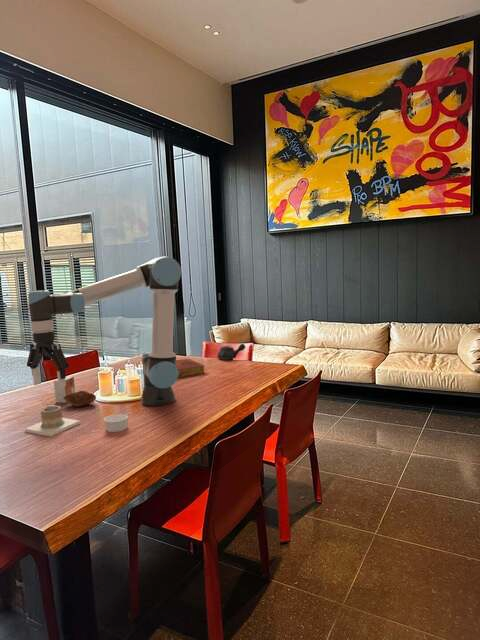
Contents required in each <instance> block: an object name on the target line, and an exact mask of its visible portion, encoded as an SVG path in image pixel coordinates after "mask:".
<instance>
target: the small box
mask: <svg viewBox="0 0 480 640" xmlns="http://www.w3.org/2000/svg"><path fill="white" fill-rule="evenodd" d="M65 381H66V386H64V387H62V388H59V384H58V379H55V380H53V387H54V397H55V403H62V404H64V403H65V404H67V402H66V401H65V400H64V399H63V398H64V397H65V396H66V395H69V394H73V393H76V388H75V387H76V385H75V377H74V376H66V378H65Z"/></svg>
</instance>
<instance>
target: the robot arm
mask: <svg viewBox="0 0 480 640" xmlns="http://www.w3.org/2000/svg"><path fill="white" fill-rule="evenodd" d="M181 275H182V268H181V265H180V264H179V263H178V261H177V260H176V259H174V258H173V257H170V256H167V255H166V256H159V257H154V259H151V260H149V261H148V262H146V263H143V264H141V265H138V266H136V268H135V269H133V270H131V271H128V272H124V273H121V274H118V275H115V276H112V277H109V278H107V279H104V280H100V281H98V282H94V283H91V284H89V285H85V286H82V287H79V288H78V289H77V288H76V289H74V290H70V291H66V292H63V293H62V294H51V293H50V291H49V290H45V289H44V290H33V291H30V292H28V295H27V299H28V308H29V309H28V310H29V316H30V324H31V331H32V332H33V333H32V340H33V343H30V344H29V348H30V349H29V354H28V357H27V358H28V359H27V363H26V366H27V367H29V368H30V369H31V373H32V374H31V375H32V378H33V379H32V380H33V386H38V385H41V384H42V379H41V378H42V377H41V369H40V367H39V364H40V363H41V360H42V359H43V357H44V356H45V357H48V358H49V359H50V360H51V361H52V363H53V365H54V366H55V367H56V369H57V371H56V374H57V380H58V384H59V388H62V387H64V386H66V381H65V378H66V377H67V375H66V369H69V368H70V365H69V363H68V360H67V359H66V356H65V354H64V353H63V350H62V347H61V344H60V343H56V344H55V343H54V341H55V340H56V335H55V330H54V322H53V321H54V320H53V316H55V315H65V314H77V313H83V312H85V310H86V308H85V307H86V306H88V305H90V304H93V303H97V302H99V301H102V300H105V299H108V298H111V297H113V296H117V295H119V294H123V293H126V292H128V291H132V290H135V289H137V288H141V287H143V288H148V287H149V290H150V291H151V293H152V295H153V296H152V298H153V299H152V338H151V342H152V343H151V351H147V352H143V353H142V355H141V357H142V358H141V362H142V365H143V373H142V374H143V388H142V389H143V390H142V394H141V398H140V402H141V404H142V405H144V406H146V407H162V406H166V405H170V404H171V403H173V402H175V400H176V395H175V392H174V389H173V385H174V384H175V383H176V382H177V380H178V369H177V367H176V360H177V354H176V353H175V352H174V351H173V350H174V320H175V319H174V316H175V315H174V313H175V294H176V293H177V292H178V291H179V281H180V279H181Z"/></svg>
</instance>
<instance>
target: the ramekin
mask: <svg viewBox="0 0 480 640" xmlns="http://www.w3.org/2000/svg"><path fill="white" fill-rule="evenodd" d="M128 420H129V415H127V414H122V413H118V414H111V415H107V416H106V417H104V418H103V422H104V427H105V431H106V432H108V433H120V432H123V431H125V430H126V429H127V428H128V422H129V421H128Z"/></svg>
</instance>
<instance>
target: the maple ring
mask: <svg viewBox="0 0 480 640" xmlns="http://www.w3.org/2000/svg"><path fill="white" fill-rule="evenodd" d="M40 417H41V422H42V426H43V427H53V426H58V425H60V424H62V422H63V419H62V418H63V410H62V406H61V405H55V410H52V411H47V406H46V407H43V408H41V410H40Z"/></svg>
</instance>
